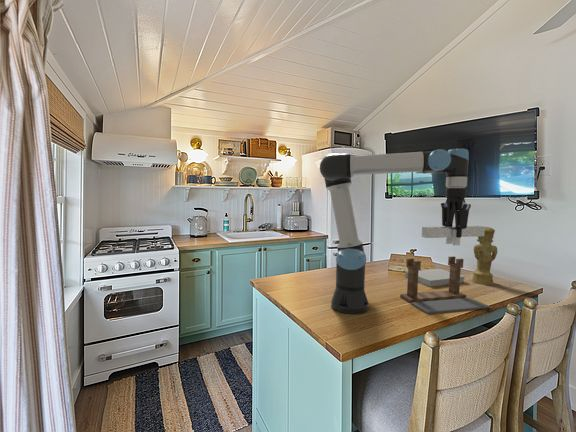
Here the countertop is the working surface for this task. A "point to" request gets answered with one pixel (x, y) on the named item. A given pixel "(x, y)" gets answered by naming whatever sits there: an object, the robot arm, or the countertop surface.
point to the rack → (436, 295)
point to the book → (434, 277)
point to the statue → (484, 258)
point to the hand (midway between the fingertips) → (452, 244)
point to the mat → (449, 305)
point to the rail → (452, 231)
